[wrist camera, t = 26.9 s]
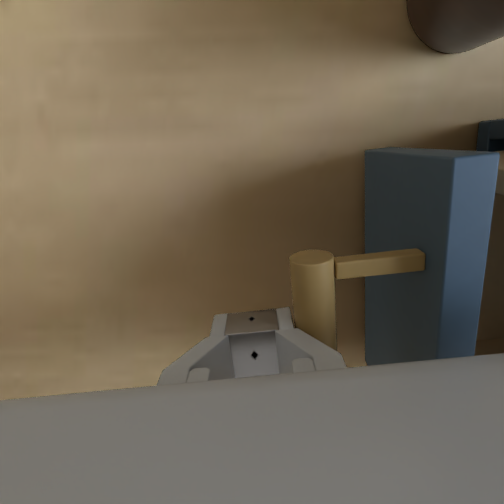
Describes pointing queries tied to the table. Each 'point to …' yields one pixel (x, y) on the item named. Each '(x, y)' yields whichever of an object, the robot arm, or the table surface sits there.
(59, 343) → the table surface
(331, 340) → the drawer
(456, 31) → the pepper mill
